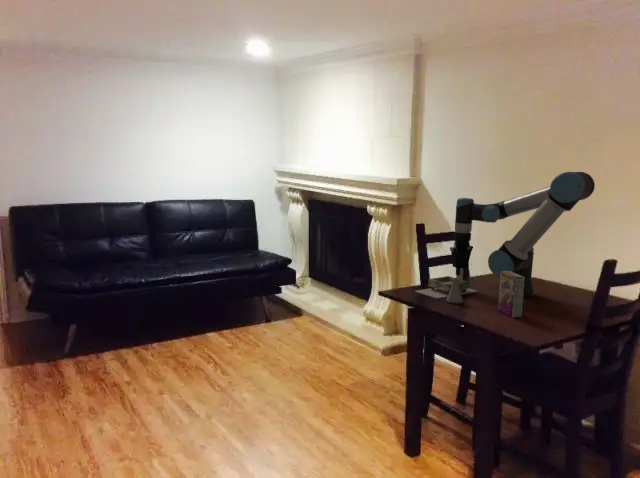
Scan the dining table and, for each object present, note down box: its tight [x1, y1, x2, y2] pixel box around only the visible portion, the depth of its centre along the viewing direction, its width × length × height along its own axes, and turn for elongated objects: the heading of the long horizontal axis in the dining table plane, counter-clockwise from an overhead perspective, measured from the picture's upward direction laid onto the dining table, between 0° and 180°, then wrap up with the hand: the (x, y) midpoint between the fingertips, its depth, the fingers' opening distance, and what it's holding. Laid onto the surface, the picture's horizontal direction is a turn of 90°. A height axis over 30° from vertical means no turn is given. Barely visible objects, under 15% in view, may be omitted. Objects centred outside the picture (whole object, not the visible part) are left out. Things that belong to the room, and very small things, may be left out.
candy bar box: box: [497, 271, 525, 319], centre depth 230 cm, size 11×5×16 cm, turn 12°
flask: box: [445, 277, 464, 304], centre depth 247 cm, size 7×7×10 cm
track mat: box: [414, 287, 478, 300], centre depth 265 cm, size 14×26×1 cm, turn 123°
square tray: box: [427, 275, 471, 294], centre depth 265 cm, size 13×13×5 cm
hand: (459, 281), depth 269 cm, fingers closed
